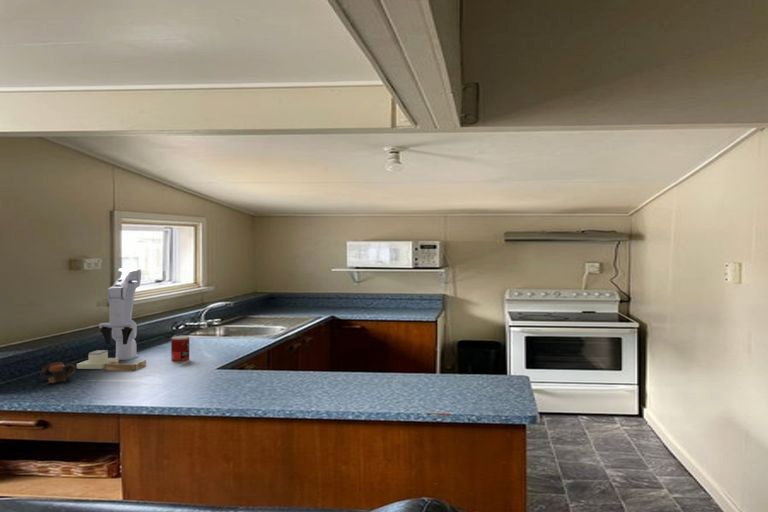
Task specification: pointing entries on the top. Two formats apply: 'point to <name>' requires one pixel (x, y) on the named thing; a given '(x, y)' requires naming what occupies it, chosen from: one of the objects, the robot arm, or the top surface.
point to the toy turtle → (58, 371)
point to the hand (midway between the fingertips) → (116, 344)
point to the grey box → (98, 357)
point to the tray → (94, 366)
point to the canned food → (180, 348)
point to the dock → (124, 366)
